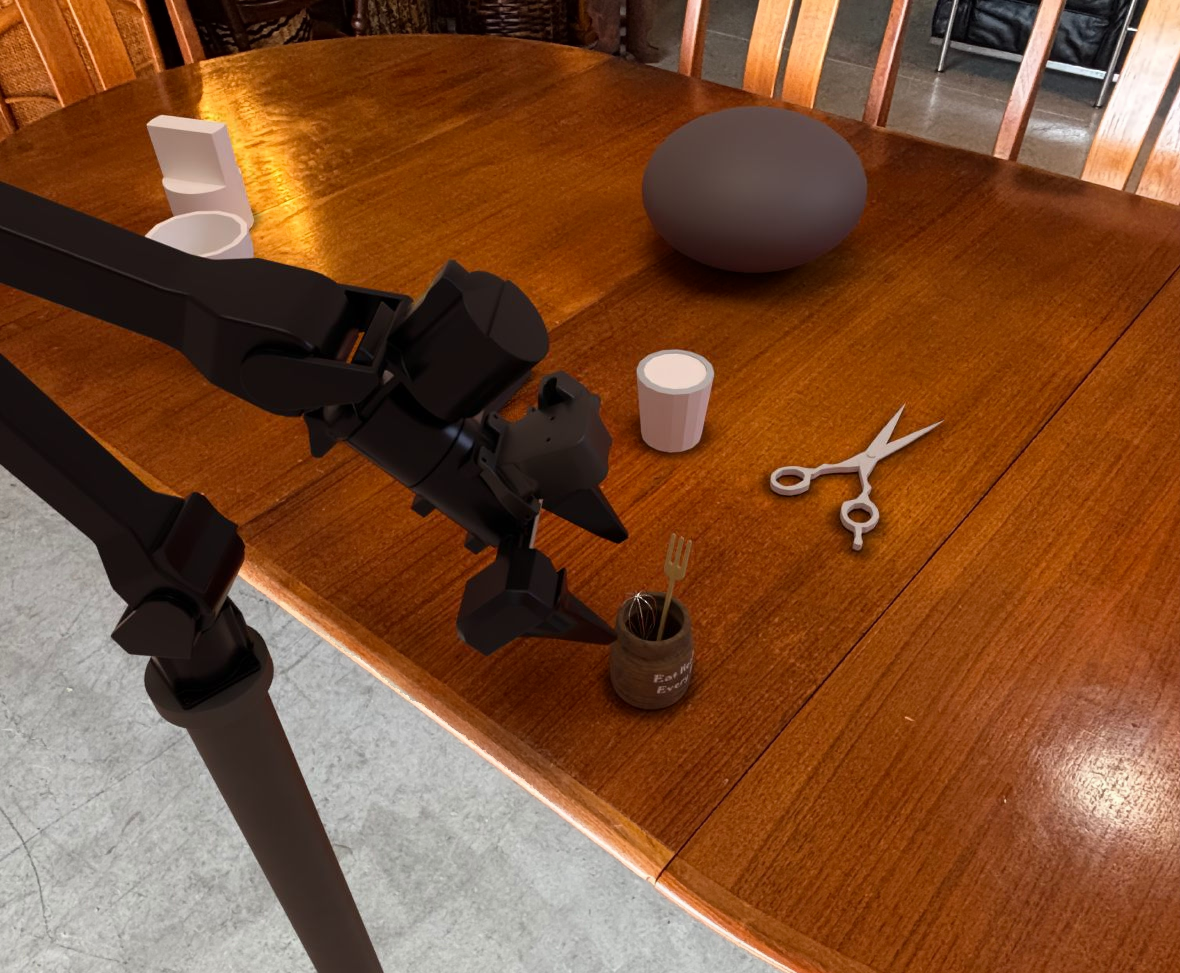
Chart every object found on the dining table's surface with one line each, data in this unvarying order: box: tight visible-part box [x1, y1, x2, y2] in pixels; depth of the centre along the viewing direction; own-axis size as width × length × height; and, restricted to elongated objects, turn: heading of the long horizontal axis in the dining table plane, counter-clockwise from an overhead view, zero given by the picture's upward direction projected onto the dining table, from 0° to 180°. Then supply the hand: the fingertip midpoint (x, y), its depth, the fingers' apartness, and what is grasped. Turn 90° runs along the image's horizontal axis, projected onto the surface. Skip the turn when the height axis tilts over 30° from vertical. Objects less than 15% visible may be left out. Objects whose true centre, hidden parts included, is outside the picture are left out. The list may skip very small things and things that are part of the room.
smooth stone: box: [641, 105, 868, 274], centre depth 109 cm, size 25×25×15 cm
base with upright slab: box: [146, 114, 255, 230], centre depth 116 cm, size 9×9×12 cm
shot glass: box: [636, 348, 715, 453], centre depth 89 cm, size 7×7×7 cm
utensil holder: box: [609, 532, 695, 710], centre depth 68 cm, size 6×6×12 cm
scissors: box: [769, 402, 945, 551], centre depth 88 cm, size 11×1×20 cm
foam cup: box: [144, 211, 255, 259], centre depth 97 cm, size 10×9×13 cm
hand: (618, 587), depth 65 cm, fingers open, 9 cm apart
